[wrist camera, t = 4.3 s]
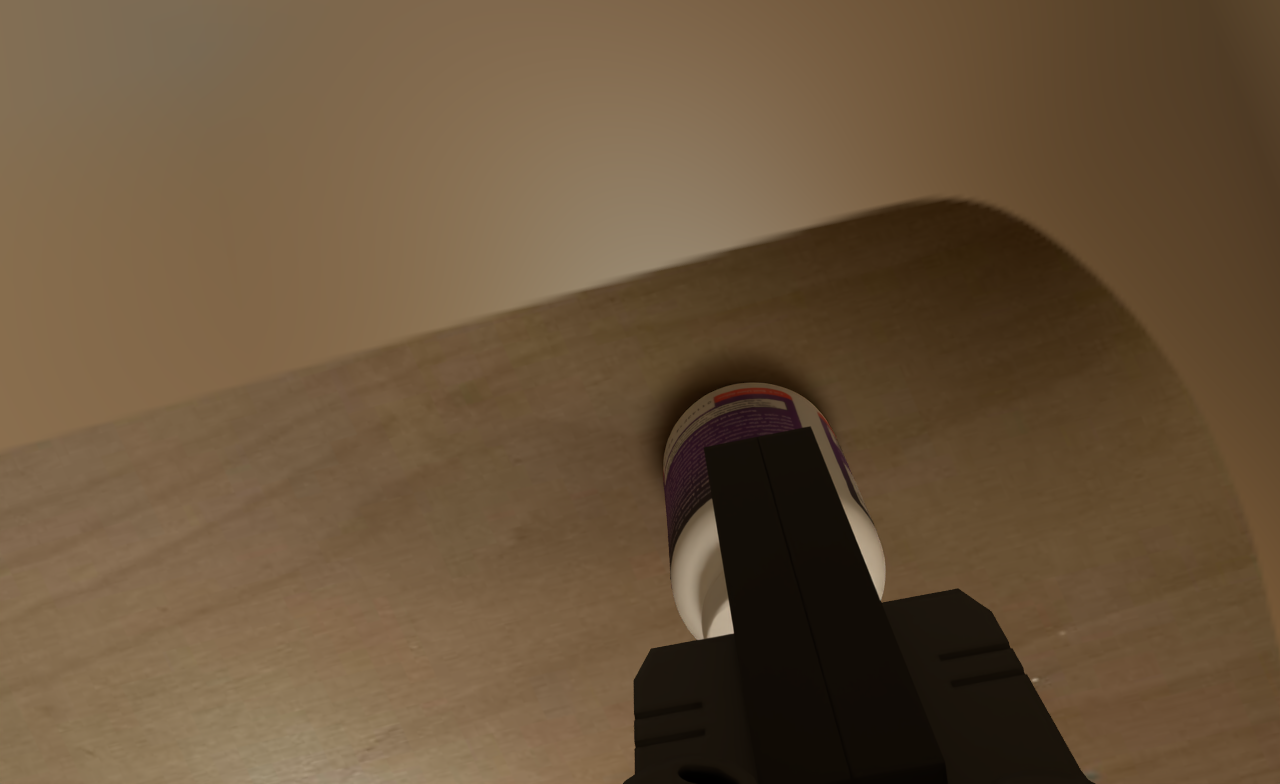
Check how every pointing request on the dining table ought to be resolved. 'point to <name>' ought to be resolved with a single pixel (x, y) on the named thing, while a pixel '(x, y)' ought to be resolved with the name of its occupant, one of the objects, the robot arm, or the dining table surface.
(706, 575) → the pill bottle
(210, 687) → the dining table surface
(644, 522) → the dining table surface
